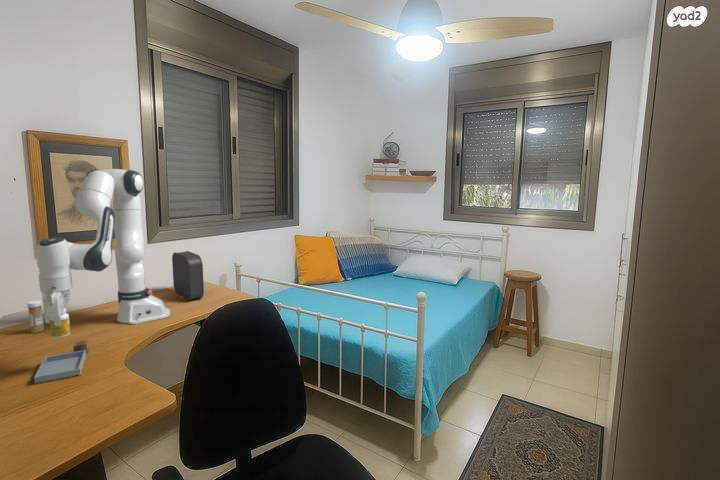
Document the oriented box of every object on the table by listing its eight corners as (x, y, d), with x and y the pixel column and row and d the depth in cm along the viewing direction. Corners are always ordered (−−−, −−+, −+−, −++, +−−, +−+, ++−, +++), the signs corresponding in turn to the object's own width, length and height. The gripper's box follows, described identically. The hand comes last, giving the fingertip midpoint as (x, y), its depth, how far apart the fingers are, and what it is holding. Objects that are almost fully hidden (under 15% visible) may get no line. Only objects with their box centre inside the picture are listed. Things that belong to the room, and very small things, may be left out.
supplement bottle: (49, 339, 128) (46, 312, 126) (53, 333, 133) (50, 307, 131) (68, 336, 130) (66, 310, 129) (71, 331, 135) (69, 305, 134)
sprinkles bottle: (43, 332, 159) (40, 302, 157) (29, 334, 157) (26, 304, 155) (45, 328, 163) (42, 299, 161) (31, 330, 160) (28, 300, 158)
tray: (86, 355, 140) (85, 349, 139) (80, 375, 126) (79, 369, 126) (45, 362, 134) (45, 356, 133) (34, 384, 120) (34, 377, 120)
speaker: (173, 292, 218) (171, 251, 214) (188, 289, 224) (186, 249, 220) (191, 302, 201) (189, 258, 197) (206, 299, 207) (204, 256, 203)
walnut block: (88, 349, 145) (87, 340, 144) (87, 353, 141) (86, 344, 141) (75, 351, 143) (74, 342, 142) (74, 356, 139) (73, 346, 139)
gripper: (62, 291, 121) (66, 330, 123) (72, 276, 139) (75, 311, 141) (37, 293, 118) (41, 334, 120) (50, 278, 135) (54, 313, 138)
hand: (60, 321), depth 131 cm, fingers closed on supplement bottle, 5 cm apart
